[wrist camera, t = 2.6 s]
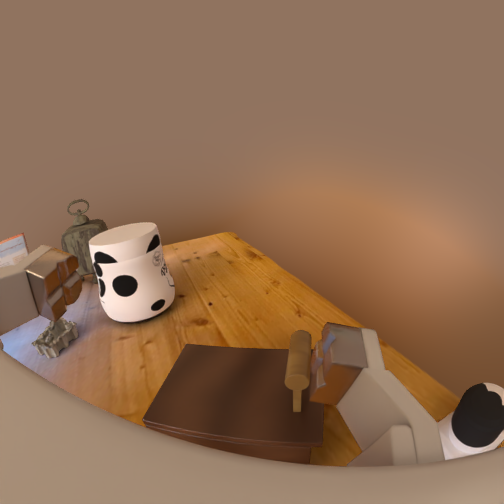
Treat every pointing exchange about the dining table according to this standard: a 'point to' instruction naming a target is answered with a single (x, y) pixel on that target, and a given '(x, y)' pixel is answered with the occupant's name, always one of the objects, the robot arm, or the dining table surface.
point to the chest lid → (242, 395)
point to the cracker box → (13, 250)
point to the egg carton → (55, 337)
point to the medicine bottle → (474, 422)
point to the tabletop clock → (82, 240)
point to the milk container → (132, 272)
